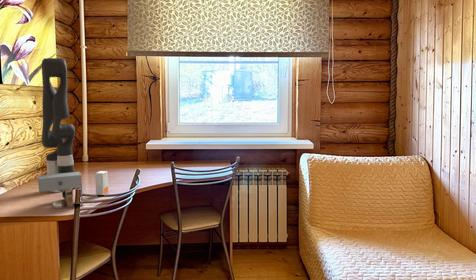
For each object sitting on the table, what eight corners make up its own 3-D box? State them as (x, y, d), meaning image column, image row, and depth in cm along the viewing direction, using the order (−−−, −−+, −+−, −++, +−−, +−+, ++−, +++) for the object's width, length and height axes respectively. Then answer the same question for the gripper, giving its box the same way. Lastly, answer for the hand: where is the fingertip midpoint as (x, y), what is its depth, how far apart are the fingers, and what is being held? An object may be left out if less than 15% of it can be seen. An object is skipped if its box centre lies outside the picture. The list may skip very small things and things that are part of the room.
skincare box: (103, 196, 221) (102, 173, 220) (95, 195, 222) (94, 173, 221) (109, 193, 227) (107, 171, 226) (101, 192, 228) (100, 170, 226)
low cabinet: (40, 206, 203) (37, 175, 201) (81, 201, 211) (79, 171, 209) (40, 211, 194) (38, 179, 192) (83, 206, 202) (81, 175, 200)
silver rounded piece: (51, 206, 203) (51, 202, 202) (62, 204, 206) (62, 200, 206) (54, 208, 199) (54, 204, 199) (65, 207, 202) (65, 202, 202)
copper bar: (64, 198, 217) (64, 187, 216) (70, 198, 218) (69, 186, 217) (67, 207, 201) (67, 195, 200) (73, 206, 202) (72, 194, 201)
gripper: (79, 161, 218) (81, 194, 220) (50, 164, 212) (52, 198, 214) (81, 163, 212) (83, 198, 214) (50, 166, 206) (53, 201, 208)
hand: (67, 197), depth 214 cm, fingers closed on copper bar, 2 cm apart
